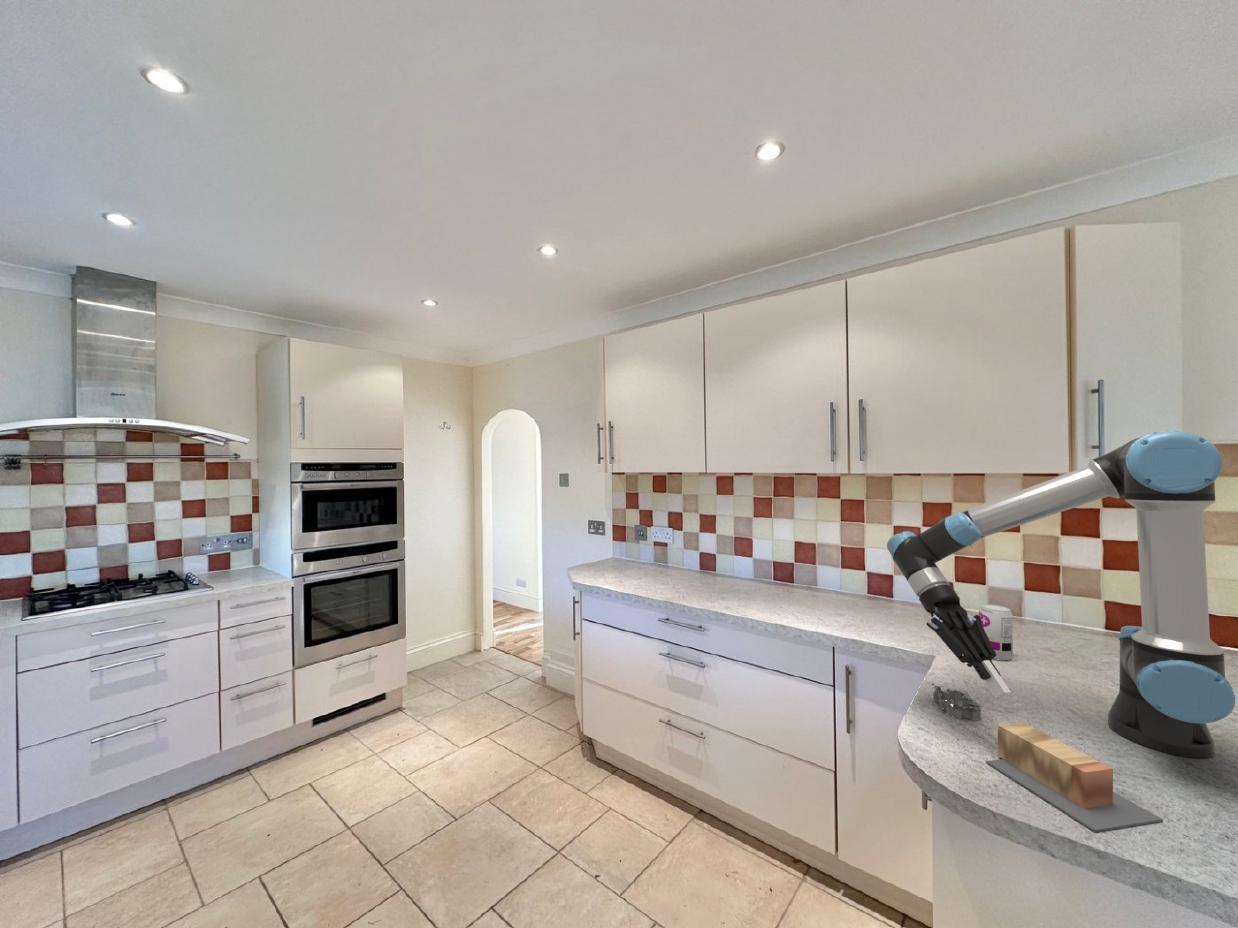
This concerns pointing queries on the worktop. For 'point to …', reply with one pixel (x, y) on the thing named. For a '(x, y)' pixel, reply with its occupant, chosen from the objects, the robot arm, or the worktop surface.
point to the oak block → (1056, 765)
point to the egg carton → (958, 703)
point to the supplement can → (998, 629)
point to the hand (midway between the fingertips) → (1003, 694)
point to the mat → (1091, 818)
